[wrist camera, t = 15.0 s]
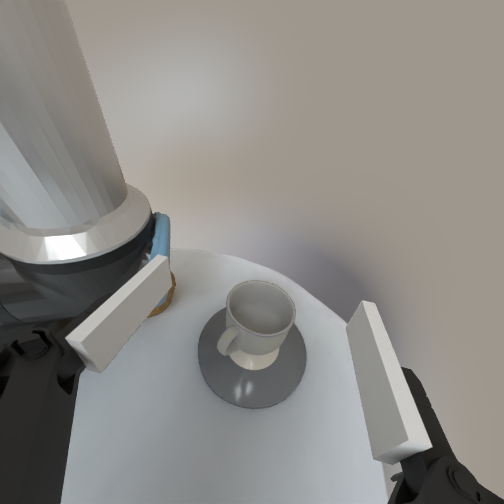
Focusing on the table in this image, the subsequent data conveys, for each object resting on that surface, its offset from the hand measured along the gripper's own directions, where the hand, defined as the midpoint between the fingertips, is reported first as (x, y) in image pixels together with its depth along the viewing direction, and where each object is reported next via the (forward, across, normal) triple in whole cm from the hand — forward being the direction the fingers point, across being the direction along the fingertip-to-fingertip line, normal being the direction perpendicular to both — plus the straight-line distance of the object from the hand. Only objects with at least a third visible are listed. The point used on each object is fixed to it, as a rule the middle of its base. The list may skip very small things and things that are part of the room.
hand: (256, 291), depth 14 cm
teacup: (+10, -1, -22) cm, 24 cm away
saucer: (+10, 0, -23) cm, 25 cm away
